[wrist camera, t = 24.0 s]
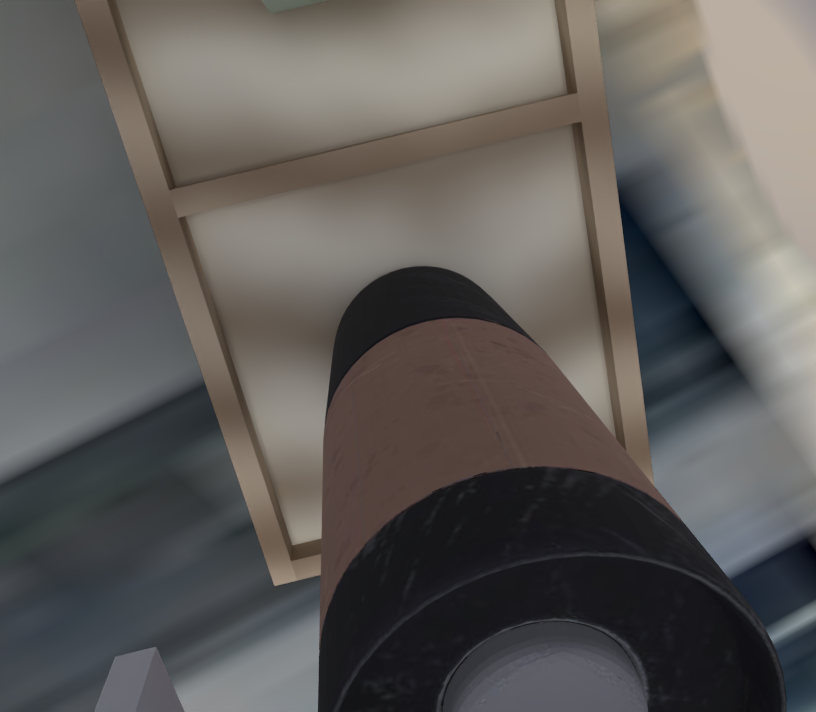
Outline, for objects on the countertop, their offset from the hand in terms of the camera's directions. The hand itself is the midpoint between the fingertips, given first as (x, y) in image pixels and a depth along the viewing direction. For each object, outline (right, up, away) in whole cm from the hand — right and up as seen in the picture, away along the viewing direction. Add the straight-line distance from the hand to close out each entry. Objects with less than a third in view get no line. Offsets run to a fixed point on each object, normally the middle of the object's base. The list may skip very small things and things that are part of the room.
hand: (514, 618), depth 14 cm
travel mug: (-1, +5, +17) cm, 17 cm away
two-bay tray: (-3, +13, +15) cm, 20 cm away
